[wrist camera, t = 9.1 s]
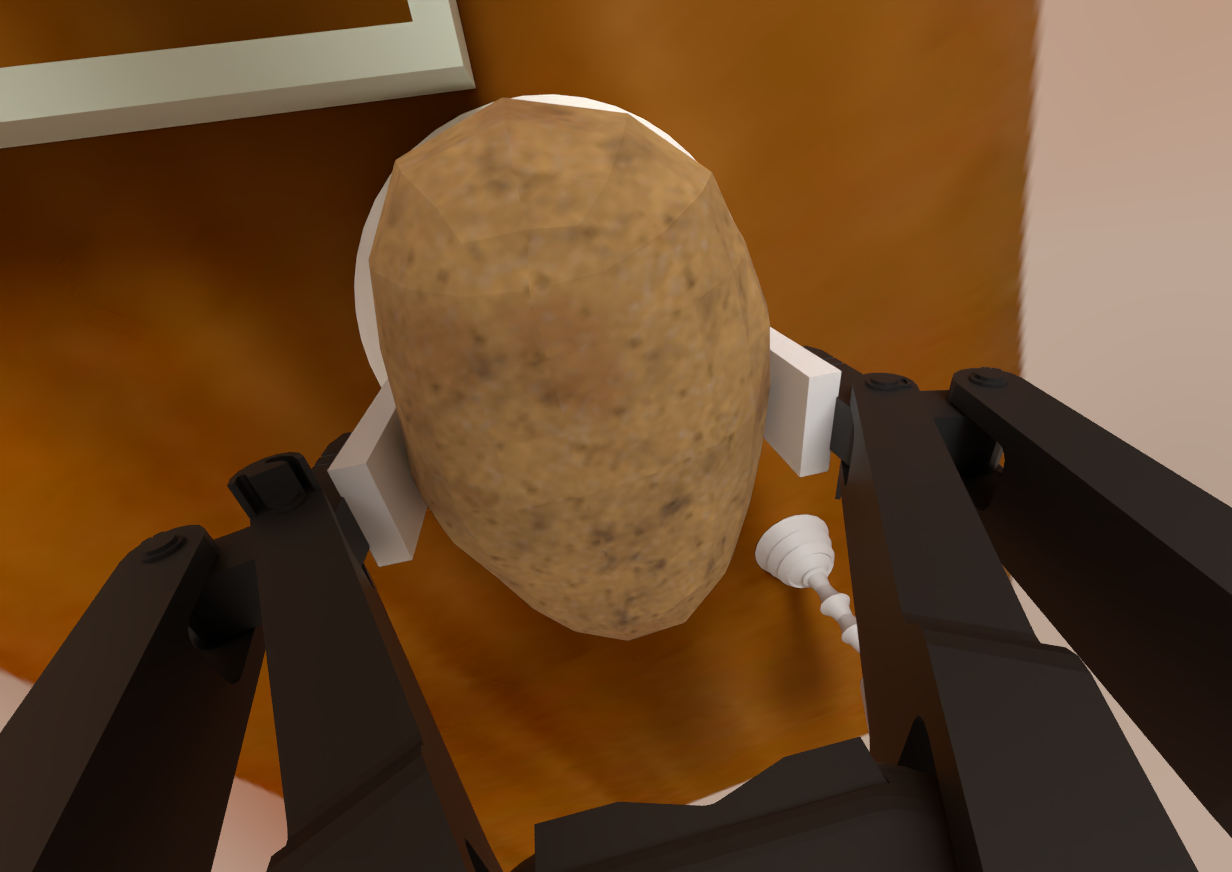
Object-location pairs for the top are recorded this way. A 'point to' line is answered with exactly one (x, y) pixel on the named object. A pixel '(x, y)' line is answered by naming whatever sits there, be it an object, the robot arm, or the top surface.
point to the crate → (235, 79)
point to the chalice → (808, 568)
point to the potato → (574, 359)
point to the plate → (362, 271)
